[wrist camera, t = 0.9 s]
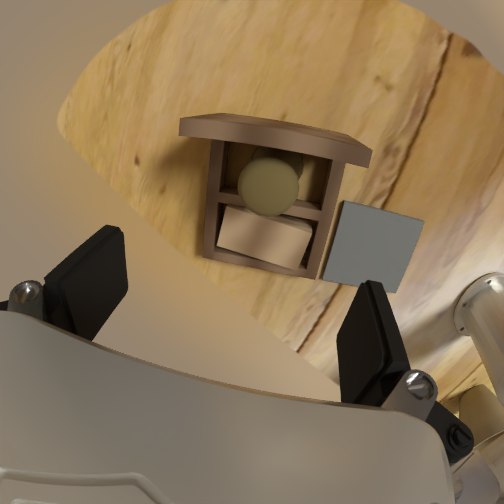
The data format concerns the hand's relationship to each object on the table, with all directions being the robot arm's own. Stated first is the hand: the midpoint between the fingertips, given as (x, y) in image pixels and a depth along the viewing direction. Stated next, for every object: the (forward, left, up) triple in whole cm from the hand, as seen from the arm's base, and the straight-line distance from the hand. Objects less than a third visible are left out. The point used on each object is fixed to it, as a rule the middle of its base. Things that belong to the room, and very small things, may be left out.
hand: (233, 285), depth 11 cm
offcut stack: (0, +9, -25) cm, 26 cm away
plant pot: (-56, +39, -25) cm, 72 cm away
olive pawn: (0, +1, -25) cm, 25 cm away
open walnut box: (0, +4, -24) cm, 25 cm away
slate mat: (-14, +9, -25) cm, 29 cm away
